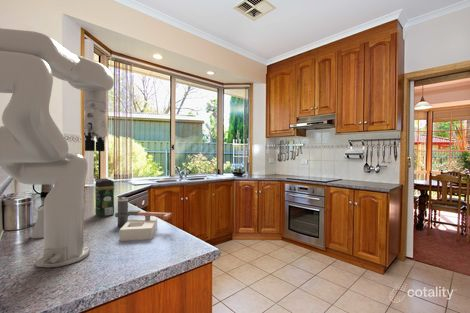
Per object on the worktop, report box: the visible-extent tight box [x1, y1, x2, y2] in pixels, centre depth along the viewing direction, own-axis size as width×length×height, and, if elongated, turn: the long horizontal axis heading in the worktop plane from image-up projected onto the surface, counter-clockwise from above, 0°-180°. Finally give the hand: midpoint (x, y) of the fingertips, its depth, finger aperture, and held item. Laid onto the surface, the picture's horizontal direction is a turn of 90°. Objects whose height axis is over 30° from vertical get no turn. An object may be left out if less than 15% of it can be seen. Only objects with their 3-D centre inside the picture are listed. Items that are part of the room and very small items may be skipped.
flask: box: [29, 209, 44, 239], centre depth 86 cm, size 7×7×10 cm
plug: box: [114, 196, 131, 228], centre depth 99 cm, size 6×6×12 cm
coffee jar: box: [94, 177, 115, 218], centre depth 116 cm, size 10×8×19 cm
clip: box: [128, 209, 173, 220], centre depth 93 cm, size 18×6×2 cm, turn 83°
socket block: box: [118, 216, 158, 242], centre depth 89 cm, size 14×11×6 cm
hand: (95, 151), depth 89 cm, fingers open, 9 cm apart
